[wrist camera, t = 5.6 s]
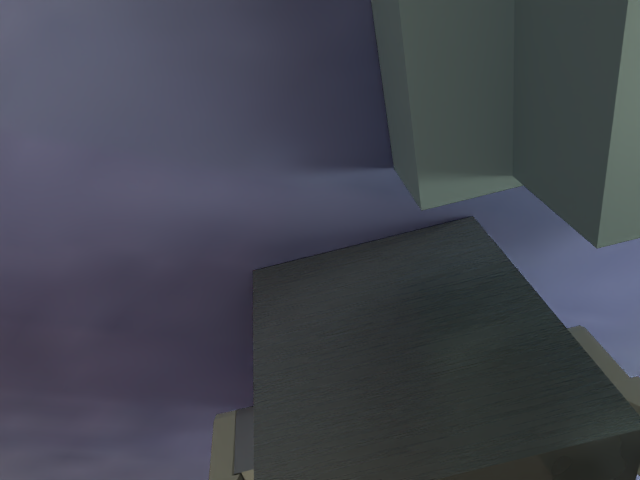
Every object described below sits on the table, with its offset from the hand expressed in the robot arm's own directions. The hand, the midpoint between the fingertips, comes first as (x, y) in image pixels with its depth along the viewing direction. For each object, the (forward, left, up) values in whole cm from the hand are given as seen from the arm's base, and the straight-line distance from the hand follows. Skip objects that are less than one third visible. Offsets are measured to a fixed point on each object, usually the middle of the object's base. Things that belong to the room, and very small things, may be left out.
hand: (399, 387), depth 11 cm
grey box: (0, 0, -2) cm, 2 cm away
